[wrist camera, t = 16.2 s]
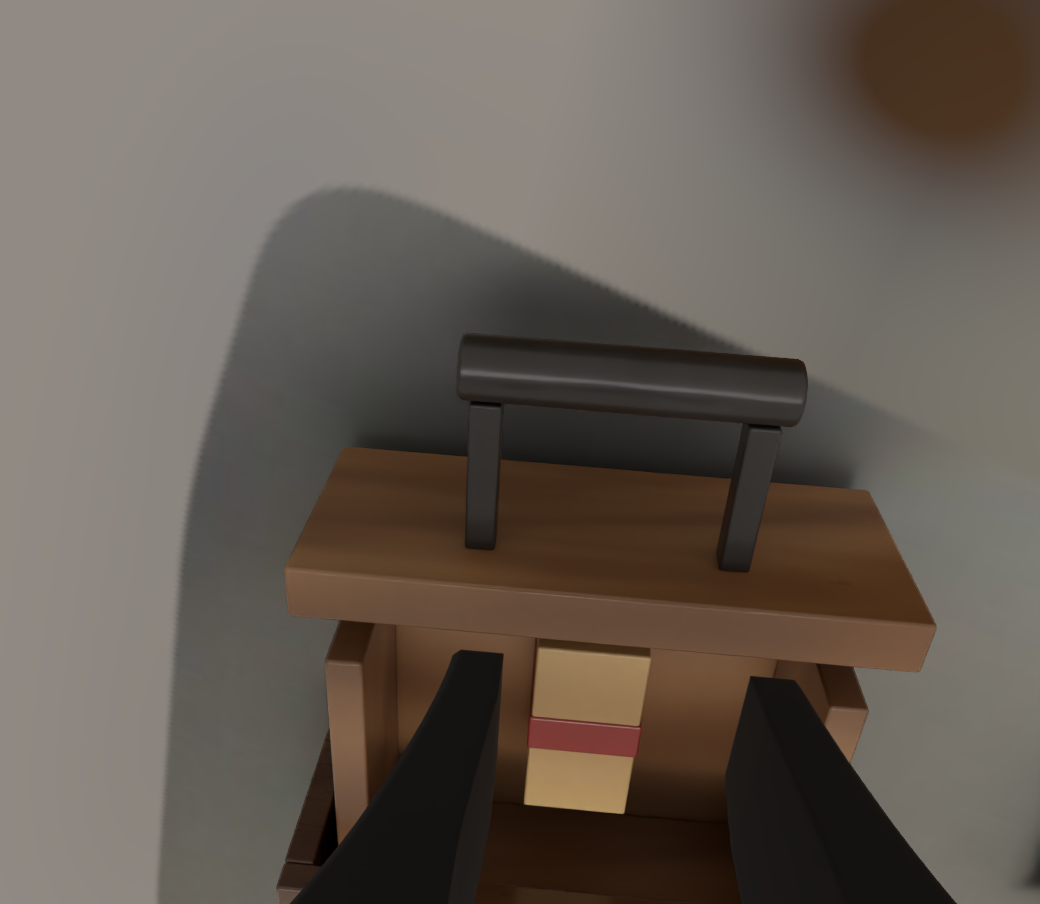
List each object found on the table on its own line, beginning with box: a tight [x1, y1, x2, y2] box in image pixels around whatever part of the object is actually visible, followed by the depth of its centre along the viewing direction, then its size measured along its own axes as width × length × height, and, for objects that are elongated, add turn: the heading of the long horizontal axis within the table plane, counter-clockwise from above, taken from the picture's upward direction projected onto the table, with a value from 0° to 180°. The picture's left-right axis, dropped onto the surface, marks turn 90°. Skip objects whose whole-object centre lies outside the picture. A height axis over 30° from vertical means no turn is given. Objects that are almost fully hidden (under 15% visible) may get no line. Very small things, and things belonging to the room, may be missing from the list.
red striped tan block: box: [524, 638, 652, 814], centre depth 21 cm, size 5×2×3 cm, turn 177°
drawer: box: [284, 333, 936, 904], centre depth 20 cm, size 16×12×5 cm
